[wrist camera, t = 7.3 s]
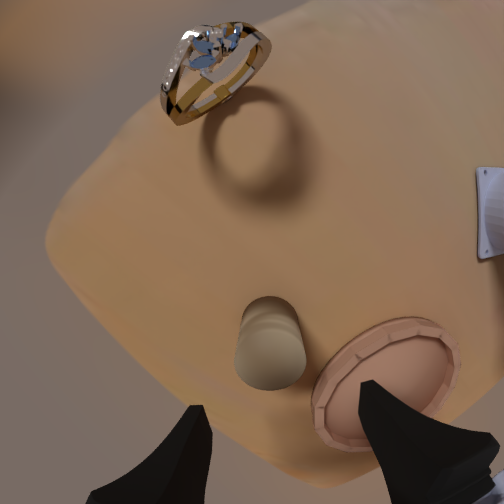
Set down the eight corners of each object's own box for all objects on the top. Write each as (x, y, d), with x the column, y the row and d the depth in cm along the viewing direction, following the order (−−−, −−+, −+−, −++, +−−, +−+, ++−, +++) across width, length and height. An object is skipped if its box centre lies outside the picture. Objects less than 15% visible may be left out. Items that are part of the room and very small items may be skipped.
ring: (250, 54, 17) (251, -13, 9) (279, 85, 17) (297, 27, 9) (168, 112, 17) (122, 70, 10) (196, 145, 18) (161, 118, 10)
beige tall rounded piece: (287, 288, 20) (294, 322, 15) (303, 336, 21) (314, 379, 15) (233, 306, 20) (223, 344, 15) (253, 351, 21) (248, 397, 16)
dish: (460, 300, 21) (472, 308, 19) (433, 415, 24) (441, 425, 22) (307, 336, 21) (312, 349, 19) (311, 450, 24) (314, 464, 22)
